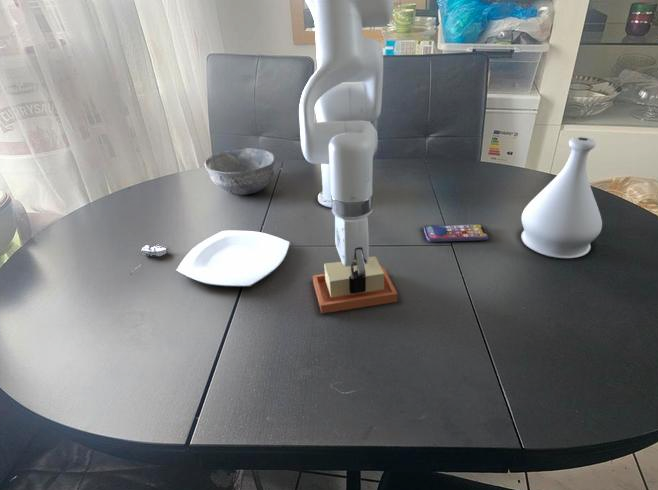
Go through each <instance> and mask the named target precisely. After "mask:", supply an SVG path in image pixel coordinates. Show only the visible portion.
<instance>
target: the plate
mask: <svg viewBox="0 0 658 490" xmlns="http://www.w3.org/2000/svg"><path fill="white" fill-rule="evenodd" d="M290 244H291V242H290V241H288V240H286V239H283V238H281V237H279V236H275V235H273V234H269V233H265V232H261V231H255V230H254V231H253V230H231V229H230V230H228V229H227V230H222V231H220V232H218V233H216V234H213V235H212V236H209V237H208V238H206V239H204V240H203V241H200V243H198V244H197V245H195V246H194V247H193V248H192V249H191V250H189V251H188V253H186V255H185V256H184V257H183V259H182V260H181V262H179V263H180V264H179V265H178V267H177V268H176V272H177V273H178V274H181V275H182V276H185V277H187V278H189V279H190V280H193V281H195V282H199V283H201V284H205V285H210V286H217V287H232V288H233V287H235V288H250V287H252V286H253V285H255V284H257V283H259V282H260V281H262V280H263V279H264V278H266V277H268V276H269V275H270V274H272V273H273V272H274V271H275V270H277V269H278V267H280V265H281V264H282V263H283V261H285V258H286V256H287V254H288V252H289V251H288V250H289V247H290Z"/></svg>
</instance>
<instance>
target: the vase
mask: <svg viewBox="0 0 658 490" xmlns="http://www.w3.org/2000/svg"><path fill="white" fill-rule="evenodd" d="M596 145H597V142H596V141H595V140H594V139H593V138H590V137H587V136H574V137H571V138H570V139H569V141H568V147H569V148H570V149H571V150H570V154H569V157H568V159H567V162H566V163H565V165H564V166H563V168H562V169H561V170H560V171H559V173H558V174H557V175H556V176H555V177H554V178H553V179H552V180H551V181H550V182H549V183H548V184H547V185H546V186H545V187H544V188H543V189H542V190H541V191H540V192H539V193H538V194H536V196H535V197H533V199H531V200H530V201H529V202H528V204H527V205H526V206H525V207H524V209H523V210H522V213H521V218H520V219H521V224H522V227H523V231H522V232H521V235H520V239H521V241H522V242H523V244H524V245H525V246H526V247H528V248H529V249H531V250H532V251H534V252H536V253H539V254H541V255H544V256H547V257H551V258H552V257H553V258H559V259H574V258H579V257H583V256H585V255H586V254H588V253H589V252H590V250H591V248H592V247H591V243H592V242H593V241H594V240H596V238H597V237H598V236H599V235H600V234H601V232H602V228H603V220H602V216H601V212H600V209H599V206H598V203H597V201H596V198H595V195H594V192H593V190H592V187H591V184H590V181H589V177H588V173H587V160H588V155H589V152H590V151H592V150H593V149H595V148H596Z"/></svg>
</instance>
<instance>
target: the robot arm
mask: <svg viewBox="0 0 658 490" xmlns="http://www.w3.org/2000/svg"><path fill="white" fill-rule="evenodd" d="M305 2H306V4H307V6H308V8H309V11H310V12H311V16H312V18H313V21H314V31H315V32H314V33H315V48H316V49H315V50H316V64H317V69H316V71H314V73H313V74H312V75H311V77H309V80H308V82H307V83H306V85H305V86H304V89H303V90H302V93H301V97H300V101H299V107H298V118H299V134H300V136H299V137H300V147H301V153H302V155H303V157H304V158H305V160H306V161H307V162H308V163H310V164H313V165H320V168H321V169H320V170H321V185H322V190H321V191H320V192H319V194H318V195H317V201H318V203H319V204H320V205H322V206H324V207H327V208H331V213H332V214H333V216H334V244H335V247H336V251H337V253H338V256H339V258H340V261H342V263H343V265H344V266H345V267H347V266H350V274H351V276H349V289H350V293H351V294H354V293H360V292H365V291H366V274H365V273H366V271H365V264H367V263H368V260H369V257H370V238H369V235H370V234H369V218H368V217H369V216H370V215H371V214H372V212H373V162H374V161H373V158H374V156H375V153H376V152H377V150H378V144H379V138H378V131H377V129H376V127H375V126H374V125H373V124H372V123H371V122H374V121H375V122H376V120H378V119H379V118H380V115H381V112H382V106H383V105H382V103H383V86H384V85H383V83H384V51H383V48H382V45H381V43H380V42H379V41H378V40H377V39H375V38H372V37H364V30H363V29H364V28H383V27H386V26H388V25H389V24H390V23H391V21H392V18H393V16H394V15H393V14H394V9H395V7H394V6H395V1H394V0H305ZM360 82H361V83H360ZM315 116H316V121H315ZM355 259H356V262H353V260H355ZM364 263H365V264H364ZM353 266H357V270H356V271H355V272H354V268H353Z"/></svg>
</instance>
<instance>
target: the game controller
mask: <svg viewBox="0 0 658 490" xmlns="http://www.w3.org/2000/svg"><path fill="white" fill-rule="evenodd" d="M157 245H158V244H157V243H155V244H154V246H152V247H151V245H149V244H148V245H145V246H143V247H142V248H141V254H142V255H144V256H147V258H149V257H153V256H152V255H150V256H149V255H146V254H143V253H142V251H143V252H145V253H149V254H160V253H162V252H163V251H165V250H166V251H165V252H164V253H162V254H161V255H156V256H155V257H161V256H163V255H166V254H167V253H168V252H167V248H166V247H164V246H163V245H162V247H161V246H157ZM160 247H161V248H160ZM140 267H141V265H139V266H138V267H136V268H134V270H137V269H139V268H140ZM132 273H133V271H131V272H130V274H132Z"/></svg>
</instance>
